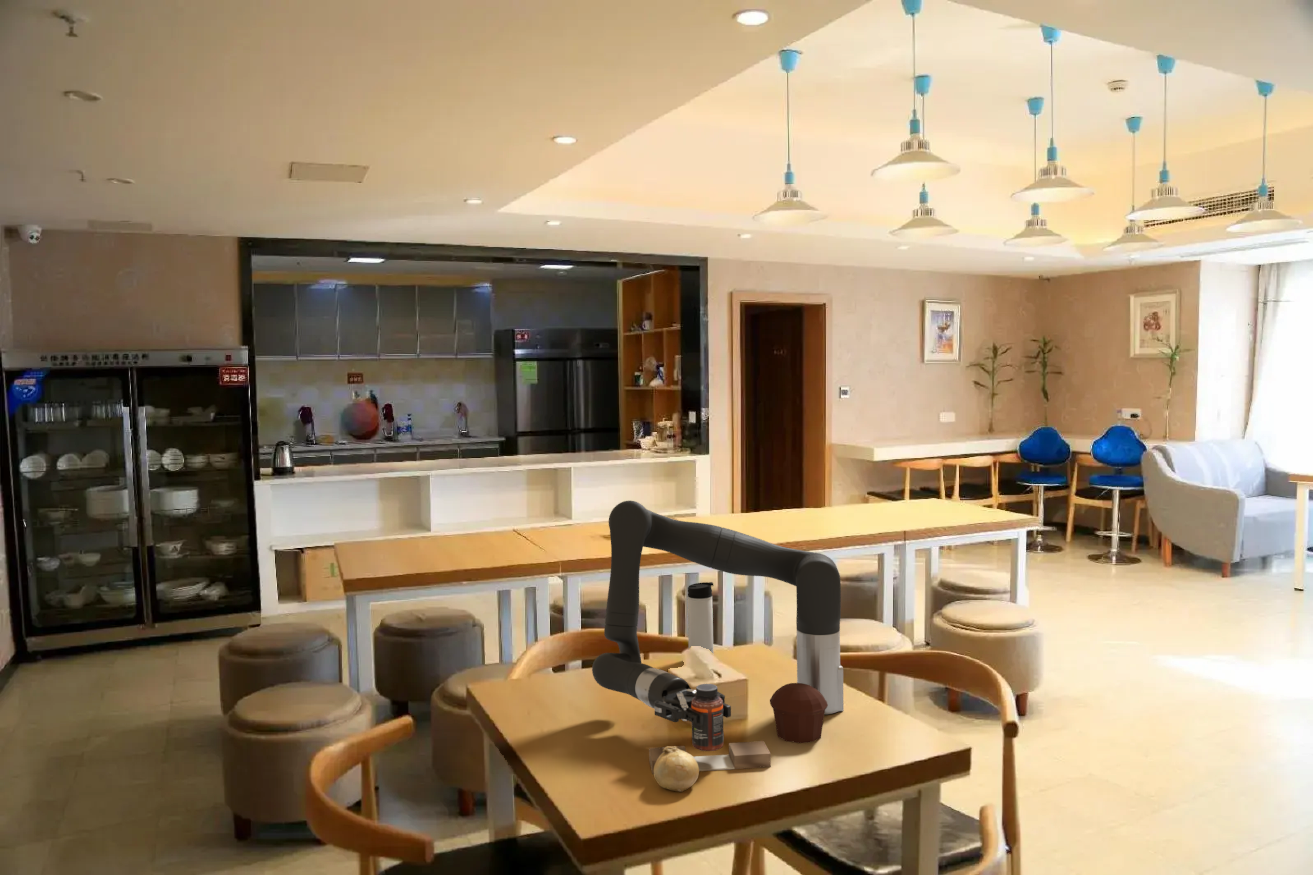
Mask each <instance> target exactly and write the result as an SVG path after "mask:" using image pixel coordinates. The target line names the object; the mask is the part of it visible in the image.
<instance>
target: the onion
mask: <svg viewBox="0 0 1313 875" xmlns="http://www.w3.org/2000/svg"><path fill="white" fill-rule="evenodd" d="M664 747H665V748H664V749H663V753H662V754H661V755H660V756H659V758H658V759H657V761H656V763H655V766H654V774H653V776H654V779H655V781H656V782H657V783H658V785H659V787H661V788H662V789H663V788H664V789H666V790H670V791H673V792H680V793H682V792H684V791H687V790H688V789H689V788H691V787H692V786H693V785H694V784H695V783H696V782H697V780H698V778H699V773H700V771H699V767H698V764H697V762H696V760H695V759H694V757H695V756H693V755H692V754H691V753H689V752H687V751H686V752H685V751H683V750H680V749H678V748H677V747H676V745H674V746H668V745H667V746H664Z"/></svg>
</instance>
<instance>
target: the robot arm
mask: <svg viewBox="0 0 1313 875" xmlns="http://www.w3.org/2000/svg"><path fill="white" fill-rule="evenodd" d="M608 528H609V535H610V547H611V548H610V550H611V552H610V554H611V555H610V556H611V558H610V572H609V573H610V577H609V583H608V591H607V592H608V593H607V598H606V599H607V601H606V610H605V617H604V618H605V619H604V631H603V632H604V637H605V639H606V640H608V641H611V642H614V643H617V645H618V649H619V652H618V653H615V652H605V653H602V654H599V655H598V656H597V657H596V658H595V659H594V661H593V663H592V667H591V672H592V676H593V679H594V681H595V682H596V683H597V684H598V685H599V686H601V687H602V688H604V689H608V690H610V691H614V692H619V693H621V694H622V693H623V694H626V695H629V696H631V697H633V698H634V699H637V700H639V701H641V702H643V704H645V705H646V706H647V707H650V708H652V709H654V716H657V717H660V718H662V719H664V720H668V721H670V722H672V723H673V722H674V723H679V722H680V720H682V721H683V722H691V724H692V723H695V724H697V725H699V726H700V725H703V714H702V713H701V712H699V711H696V710H694V709H692V708H691V703H692V699H693V698H694V697H695V696H696V695H697V694H696V689H694V688H693V689H692V688H691V687H690V685H689V683H688V682H687V681H686V680H685V679H683V678H682V677H680V676H677V675H675V674H673V673H670V672H667V671H665V670H663V669H661V668H659V669H658V668H656V667H653V666H651V665H648V664H646V663H642V657H641V650H640V647H639V646H640V645H639V639H638V624H639V623H638V622H639V611H640V610H639V609H640V569H641V558H642V553H643V548H649V549H654V550H659V551H664V552H667V553H670V554H672V555H675V556H678V557H680V558H682V559H685V560H687V561H690V562H692V563H694V564H697V565H700V566H704V567H706V568H710V569H713V570H717V571H720V572H722V573H726V574H732V575H738V576H739V575H740V576H751V577H765V578H769V579H775V580H778V581H780V582H784V583H787V584H789V585H792V586H794V587H796V590H795V592H796V620H795V622H796V676H797V677H796V683H803V684H807V685H810V686H812V687H813V688H815V689H817V690H818V691H819V692H820V693H821V694H822V695H823V696H824V698H825V700H826V701H827V704H828V706H827V708H826V709H825V712H824V716H825V715H831V714H835V713H837V712H844V667H843V666H842V665H841V639H840V638H841V631H840V630H841V618H842V617H841V613H842V611H841V609H842V605H841V603H842V602H841V601H842V599H841V598H842V596H841V595H842V594H841V593H842V590H841V588H842V586H841V582H842V581H841V575H840V572H839V570H838V567H837V565H836V563H835V562H834V560H833V559H831V557H829V556H828V555H825V554H823V553H819V552H814V551H809V550H807V551H806V550H801V549H796V548H790V547H785V546H780V545H778V544H774V543H771V542H768V541H766V540H764V539H761V538H758V537H755V536H752V535H750V534H746V533H742V532H740V531H736V530H733V529H729V528H726V527H722V526H719V525H713V524H709V523H702V522H693V521H684V520H679V519H678V520H677V519H675V518H674V519H673V518H670V517H668V516H665V515H662V514H660V513H657V512H654V511H651V510H650V509H647V508H646V507H645V506H644V505H643V504H642V503H639V502H638V501H635V500H624V501H622V502H618V504H616V505H615V506H614V507H613V508H612V509H611V512H610V513H609V516H608ZM717 695H718V696H719V697H720V698H721V699H722V701H723V718H730V717H731V716H732V706H731V705H730V704H727V703H726V702H725V701H726V700H725V698H726V695H725V694H723V693H722V692H720V691H718V694H717Z"/></svg>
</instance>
